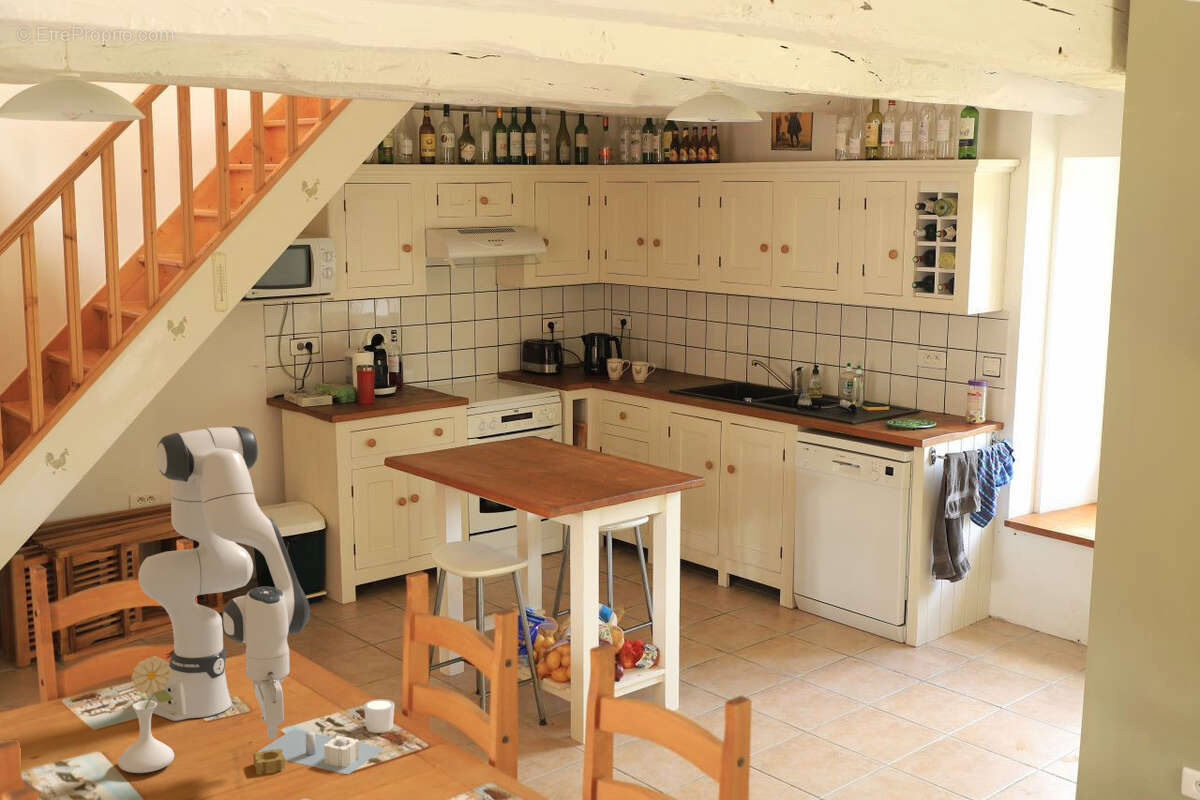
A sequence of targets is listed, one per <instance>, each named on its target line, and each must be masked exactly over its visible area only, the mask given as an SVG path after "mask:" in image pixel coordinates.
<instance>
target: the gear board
mask: <svg viewBox="0 0 1200 800" xmlns="http://www.w3.org/2000/svg"><path fill="white" fill-rule="evenodd" d="M334 738H335V737H333V736H328V735H324V734H319V733H316V732H314V731H305V730H299V729H295V728H293V729H292V730H290V731H288V732H287V733H285V734H283V735H282V736H280V737H279V738H276V739H275V740H273V741H272V742H271V743H269V744H267V745H266V746H264V747H262V748H261V749H259V750H258V751H257V752H261V751H267V750H276V749H282V753H283V756H284V758H285V762H290V763H295V764H300V765H305V766H307V767H308V766H309V767H313V768H318V769H322V770H324V771H325V770H327V771H331V772H334V773H339V774H344V775H350V774H351V773H353V772H354V771H355V770H357V769H358V768H359V767H361V766H362V765H364V764H365V763H366V762H368V761H369V760H370V759H372V758H373V757H375V756H376V755H378V753H380V752H381V751H383V750H384V749H385V748H384V747H381V746H378V745H377V746H376V745H371V744H366V743H362V742H359V759H356V761H355V762H353V763H352V764H350V765H348V767H344V768H342V766H340V767H339V766H334V765H330V764H325V762H324V744H328V742H329V741H330V740H332V739H334ZM337 746H339V747H341V746H346V739H338V740H337Z"/></svg>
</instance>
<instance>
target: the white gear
mask: <svg viewBox="0 0 1200 800" xmlns="http://www.w3.org/2000/svg"><path fill="white" fill-rule="evenodd" d="M338 739H346V746H341V747H339V746H337V740H338ZM359 743H360V742H359V739H358V738H356V739H355V738H352V737H347V736H342V735H336V736H335V737H334V739H332V740H330V741H329V742H328V744H324V762H325V764H330V765H334V766H339V767H340V766H342V768H344V767H348V765H350V764H352V763H353V762H355V761H356V759H359Z"/></svg>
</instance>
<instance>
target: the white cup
mask: <svg viewBox="0 0 1200 800" xmlns="http://www.w3.org/2000/svg"><path fill="white" fill-rule="evenodd" d="M395 705H396V704H395V702H394V701H393V700H392V701H391V699H384V698H383V699H382V698H380V699H372V700H369V701H367V702H365V704H364V705H363V709H364V717H365V726H366V727H365V728H366V731H368V732H370V733H375V734H377V733H378V734H380V733H381V734H382V733H385V732H389V731H390V730H392V729H393V726H394V725H393V724H394V715H395Z"/></svg>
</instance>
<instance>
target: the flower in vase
mask: <svg viewBox="0 0 1200 800" xmlns="http://www.w3.org/2000/svg"><path fill="white" fill-rule="evenodd" d="M169 662H170V661H169ZM169 662H168V661H167V660H166V659H163V658H160V657H158V656H155V655H152V657H149V658H148V657H146V658H145V659H144V660H141V661H139V662H138V664H137V666H135V667H134V671H133V672H132V674H131V680H133V681H132V684H133V685H134V687H133V688H134V689H135V690H134V689H132V688H131V691H132V692H133V694H134V695H137V696H138V697H140V698H141V697H143V698H146V699H148V698H147V697H146V696H145V695H146V694H147V695H151V694H153V695H152V696H151V698H150V699H149V700H146V701H140V702H137V701H136V702H135V703H133V704H132V705H131V709H132V710H133V711H134V712H135V713H136V715H137V719H138V725H139V735H138V738H137V740H136V741H135V742H133V743H132V744H131V745H130V746H128V747H127V748H126V749H124V751H122V753H121V754H120V755H119V757H118V759H117V766H118V767H119V768H120V769H121V770H122V771H124V772H128V773H135V774H144V773H145V774H146V773H151V772H155V771H158V770H161V769H164V768H166V767H167V766H169V765H170V764H171V763H172V762H173V761H174V759H175V753H174V750H173V749H172V748H171V747H170V746H168V745H167V744H165V743H164V742H162V741H161V740H158V739H156V738H154V736H153V735H152V715H153V713H152V712H153V710H154V708H155V707H156V705H157V703H156V702H155V701H150V700H151V699H152V697H153V696H154V694H155V697H156V698H157V700H158V701H159V702H166V701H170V700H173V698H172V697H171V696H170V695H169V693H168V692H167V691H166V690H163V689H164V688H165V687H166V686H167V683H168V682H169V681H170V678H171V675H172V672H170V670H171V668H170V667H168V666H169Z"/></svg>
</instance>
